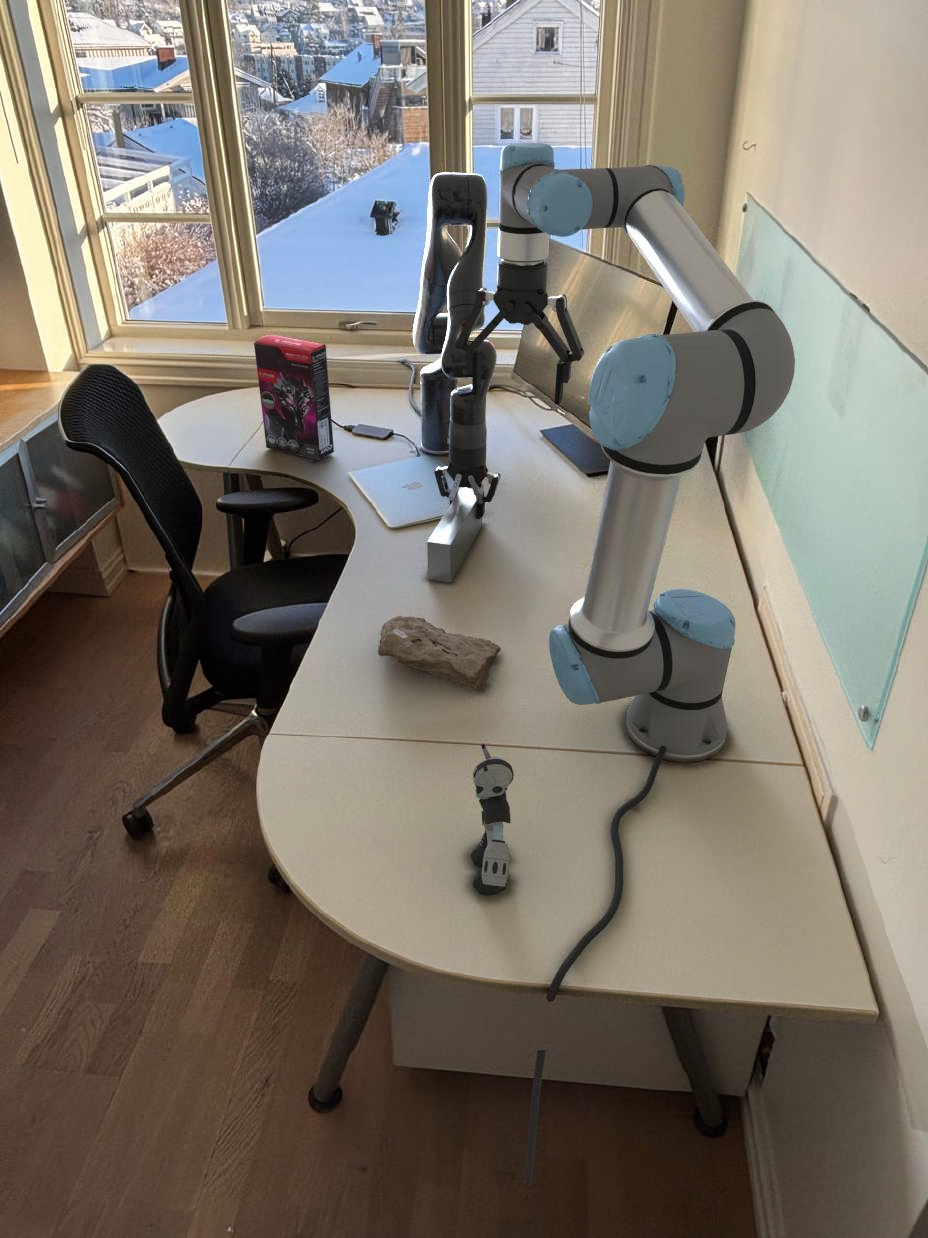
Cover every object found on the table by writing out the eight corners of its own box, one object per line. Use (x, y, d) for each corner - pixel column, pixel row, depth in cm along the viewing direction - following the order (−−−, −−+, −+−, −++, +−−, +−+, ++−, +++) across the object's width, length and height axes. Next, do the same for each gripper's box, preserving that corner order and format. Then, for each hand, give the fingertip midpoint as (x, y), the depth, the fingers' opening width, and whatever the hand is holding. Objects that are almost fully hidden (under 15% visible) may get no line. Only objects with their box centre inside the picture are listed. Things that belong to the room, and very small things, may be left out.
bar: (450, 582, 179) (450, 544, 174) (427, 579, 180) (427, 541, 175) (482, 524, 199) (482, 489, 194) (461, 522, 200) (461, 486, 195)
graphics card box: (263, 448, 231) (250, 340, 216) (280, 439, 236) (269, 332, 221) (320, 462, 224) (310, 351, 209) (336, 452, 230) (328, 343, 214)
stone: (354, 663, 151) (360, 631, 149) (385, 632, 165) (392, 602, 162) (474, 706, 148) (483, 673, 145) (496, 671, 161) (504, 640, 159)
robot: (515, 932, 112) (522, 815, 100) (475, 934, 111) (478, 816, 100) (502, 814, 128) (507, 701, 117) (467, 815, 128) (468, 702, 117)
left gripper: (506, 437, 186) (504, 512, 195) (439, 429, 189) (439, 504, 199) (498, 451, 180) (495, 528, 189) (428, 443, 183) (429, 519, 193)
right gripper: (610, 259, 137) (597, 397, 149) (450, 248, 143) (450, 381, 155) (601, 271, 131) (589, 413, 143) (435, 258, 137) (436, 396, 149)
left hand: (466, 515), depth 194 cm, fingers closed on bar, 4 cm apart
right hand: (517, 397), depth 149 cm, fingers open, 13 cm apart
